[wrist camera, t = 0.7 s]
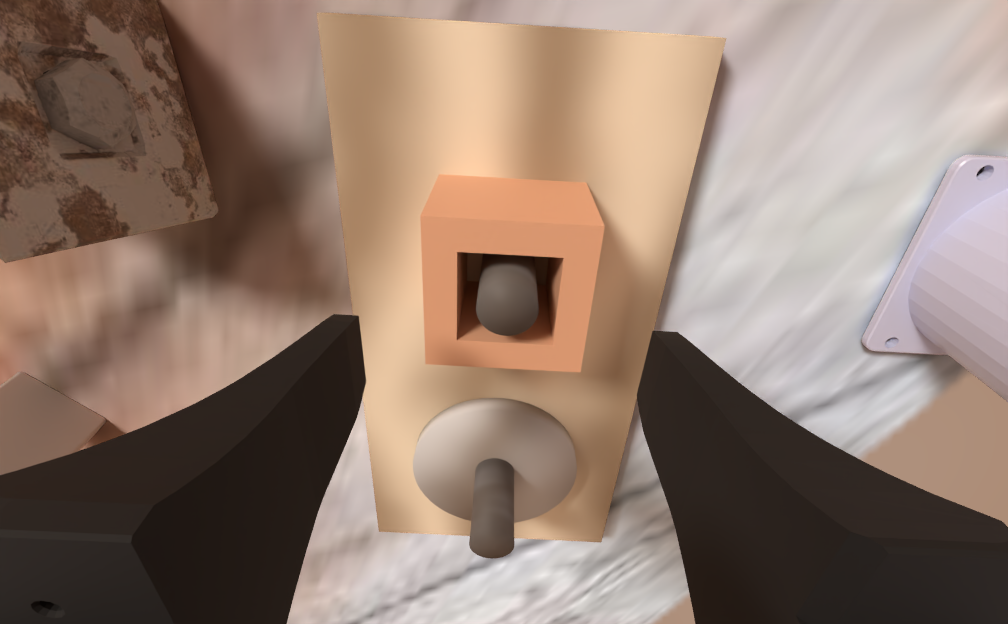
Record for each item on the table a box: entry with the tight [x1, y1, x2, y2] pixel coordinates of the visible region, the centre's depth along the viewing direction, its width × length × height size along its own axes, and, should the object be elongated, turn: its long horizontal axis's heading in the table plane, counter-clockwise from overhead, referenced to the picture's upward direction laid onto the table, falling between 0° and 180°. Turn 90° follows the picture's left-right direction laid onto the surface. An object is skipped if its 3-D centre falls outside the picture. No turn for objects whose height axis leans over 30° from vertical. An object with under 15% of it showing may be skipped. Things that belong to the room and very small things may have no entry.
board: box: [317, 13, 726, 558], centre depth 19 cm, size 12×24×6 cm, turn 177°
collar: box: [420, 174, 605, 372], centre depth 17 cm, size 5×5×4 cm
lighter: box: [0, 372, 106, 475], centre depth 21 cm, size 7×2×8 cm, turn 43°
